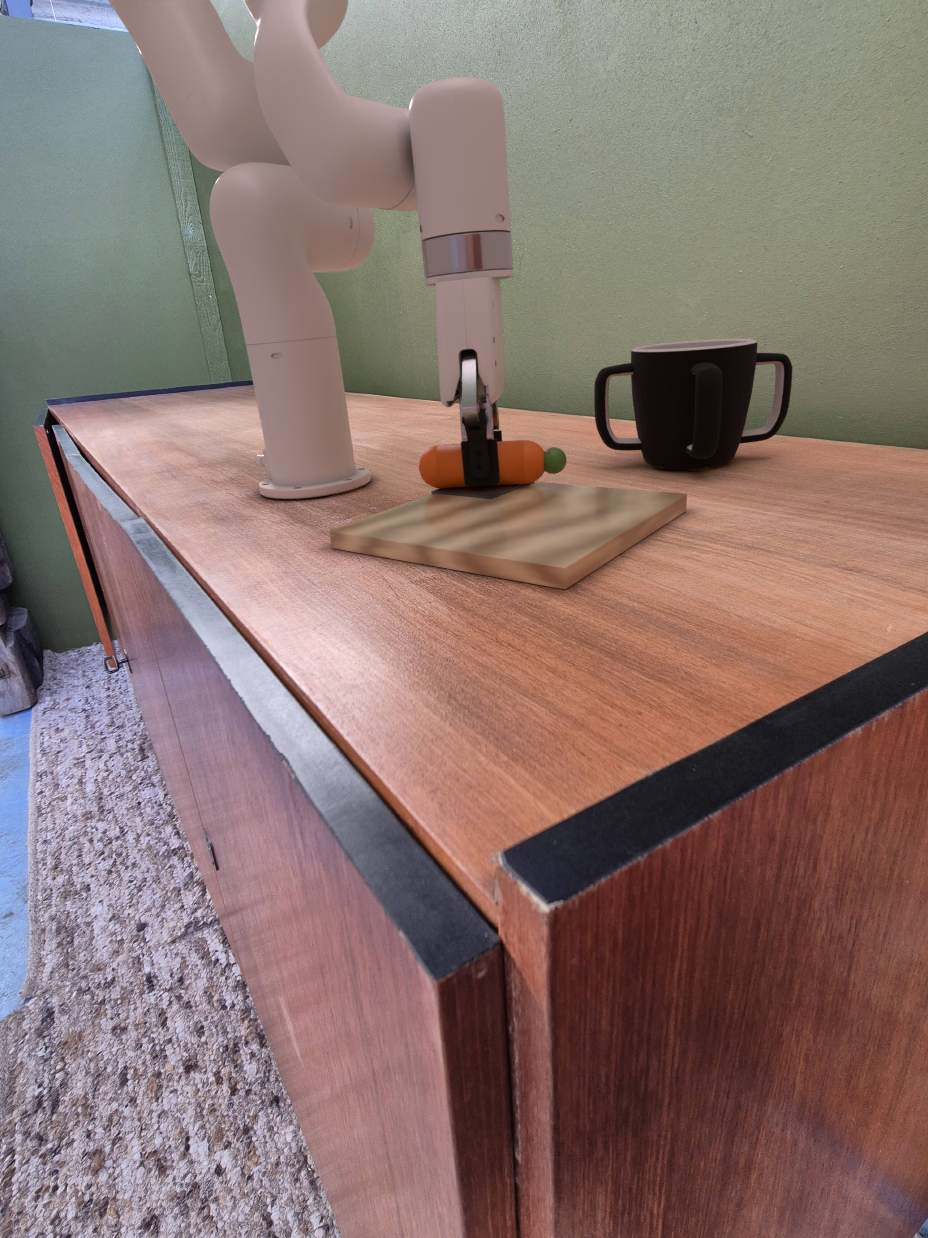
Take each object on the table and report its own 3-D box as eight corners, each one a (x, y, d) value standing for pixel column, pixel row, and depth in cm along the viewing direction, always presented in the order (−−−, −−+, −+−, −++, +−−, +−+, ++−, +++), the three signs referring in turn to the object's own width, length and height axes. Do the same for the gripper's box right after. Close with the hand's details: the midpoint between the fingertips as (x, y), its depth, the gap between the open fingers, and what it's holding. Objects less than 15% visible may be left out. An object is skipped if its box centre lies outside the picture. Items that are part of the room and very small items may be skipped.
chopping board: (331, 548, 58) (328, 528, 58) (476, 491, 73) (475, 475, 72) (565, 590, 45) (564, 564, 45) (686, 511, 60) (687, 491, 59)
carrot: (419, 497, 67) (412, 459, 65) (425, 475, 70) (419, 438, 68) (567, 490, 65) (566, 451, 62) (566, 467, 68) (565, 429, 65)
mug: (682, 443, 87) (686, 338, 82) (803, 458, 74) (815, 334, 69) (580, 467, 79) (578, 352, 74) (694, 488, 66) (700, 351, 62)
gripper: (440, 271, 68) (458, 464, 75) (403, 261, 53) (430, 503, 60) (518, 263, 67) (529, 459, 74) (504, 250, 52) (519, 498, 59)
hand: (485, 476), depth 67 cm, fingers closed on carrot, 4 cm apart
